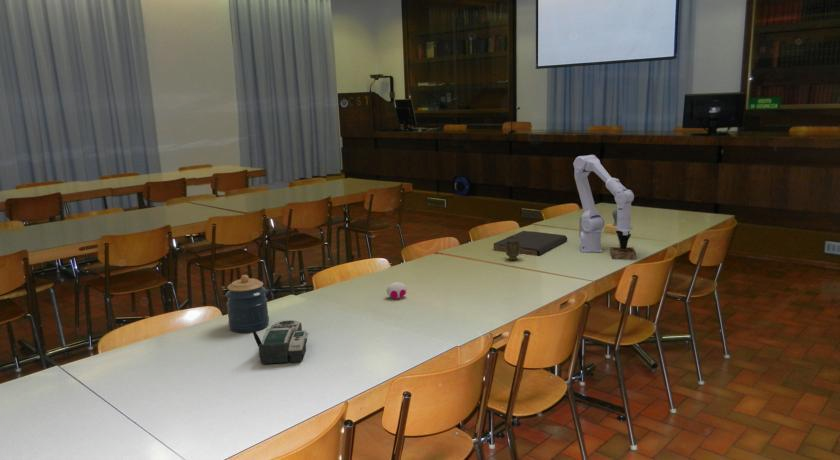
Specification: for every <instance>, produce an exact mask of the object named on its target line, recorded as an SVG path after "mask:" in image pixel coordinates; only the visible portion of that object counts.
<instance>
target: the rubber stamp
mask: <svg viewBox="0 0 840 460" xmlns="http://www.w3.org/2000/svg"><path fill="white" fill-rule="evenodd" d="M612 218H613V222H614V223H607V224H605V225H604V228H603V229H604V231H603V232H604V233H608V234H609V233H610V234H615V235H617V233H616V231H619V230H617V229H616V227H617V209H613V210H612Z"/></svg>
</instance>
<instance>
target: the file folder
mask: <svg viewBox="0 0 840 460" xmlns="http://www.w3.org/2000/svg"><path fill="white" fill-rule="evenodd" d="M507 241H510V242H513V241H518V242H519V241H520V242H521V249H520V254H521V255H530V256H535V257H537V256H541V255H543V254H544V253H546V252H549V251H550V250H552V249H554V248H556V247H557V246H560V245H562V244H564V243H566V242H567V241H568V237H567V236H566V235H565V234H559V233H558V234H557V233H548V232H542V231H541V232H539V231H530V230H529V231H528V230H522V231H519V232H517V233H515V234H513V235H509V236H506V238H503V239H500V240H498V241H496V242H494V243H493V251H498V252H505V253H506V251H505V244H504V242H507ZM520 254H519V255H520Z"/></svg>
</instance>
